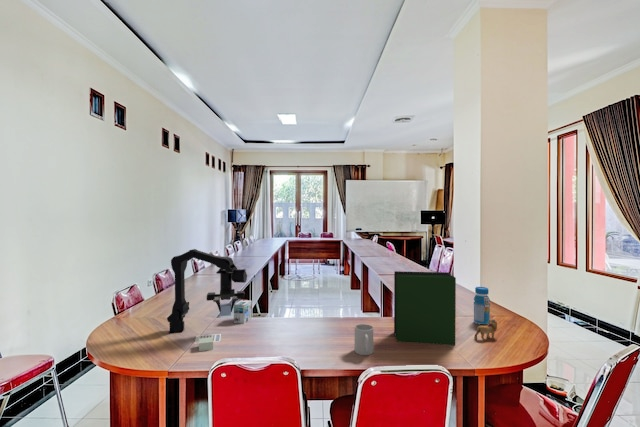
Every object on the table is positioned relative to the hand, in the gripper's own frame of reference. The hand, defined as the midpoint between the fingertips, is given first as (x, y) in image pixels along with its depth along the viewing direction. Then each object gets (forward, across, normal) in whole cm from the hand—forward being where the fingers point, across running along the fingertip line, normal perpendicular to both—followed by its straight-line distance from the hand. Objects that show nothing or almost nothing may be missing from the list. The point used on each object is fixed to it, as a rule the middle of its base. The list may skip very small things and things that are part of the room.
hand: (225, 312), depth 174 cm
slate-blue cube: (+1, 0, 0) cm, 1 cm away
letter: (+11, -8, -6) cm, 15 cm away
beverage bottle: (+10, +141, -17) cm, 142 cm away
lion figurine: (+10, +126, -38) cm, 132 cm away
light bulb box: (+11, +9, +18) cm, 23 cm away
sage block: (+11, -8, -18) cm, 23 cm away
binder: (+11, +96, -30) cm, 101 cm away
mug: (+11, +61, -40) cm, 73 cm away
